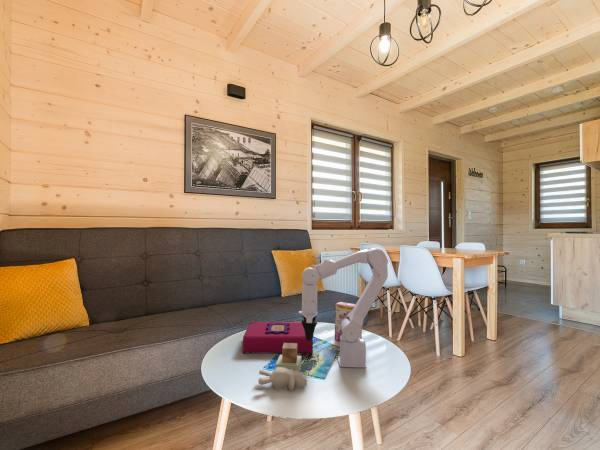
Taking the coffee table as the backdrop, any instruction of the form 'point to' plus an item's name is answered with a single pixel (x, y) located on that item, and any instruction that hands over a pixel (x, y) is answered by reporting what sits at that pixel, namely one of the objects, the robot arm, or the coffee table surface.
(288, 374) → the bunny figurine
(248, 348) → the book
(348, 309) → the candy bar box
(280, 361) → the sage block
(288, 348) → the walnut cube
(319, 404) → the coffee table surface
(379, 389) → the coffee table surface
